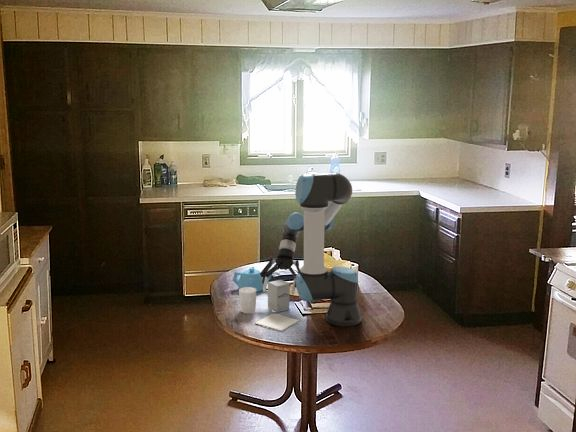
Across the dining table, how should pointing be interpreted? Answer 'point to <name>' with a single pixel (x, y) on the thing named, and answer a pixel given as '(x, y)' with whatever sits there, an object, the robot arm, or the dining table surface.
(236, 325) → the dining table surface
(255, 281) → the teapot
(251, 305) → the white cup
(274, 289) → the supplement box
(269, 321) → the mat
